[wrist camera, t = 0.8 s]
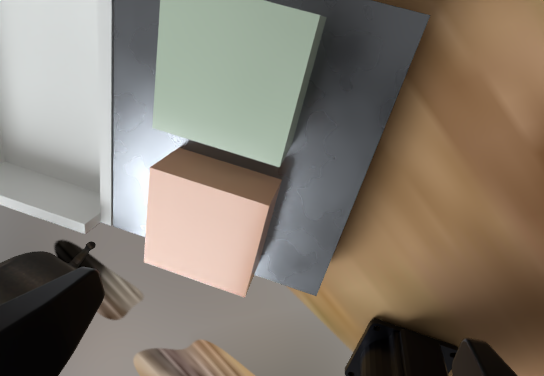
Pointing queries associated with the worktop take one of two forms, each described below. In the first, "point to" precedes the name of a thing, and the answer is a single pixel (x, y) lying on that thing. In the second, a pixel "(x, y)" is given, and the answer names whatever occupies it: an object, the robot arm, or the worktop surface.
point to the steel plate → (307, 139)
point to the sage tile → (234, 73)
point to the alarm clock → (34, 271)
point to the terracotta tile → (208, 219)
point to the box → (57, 110)
